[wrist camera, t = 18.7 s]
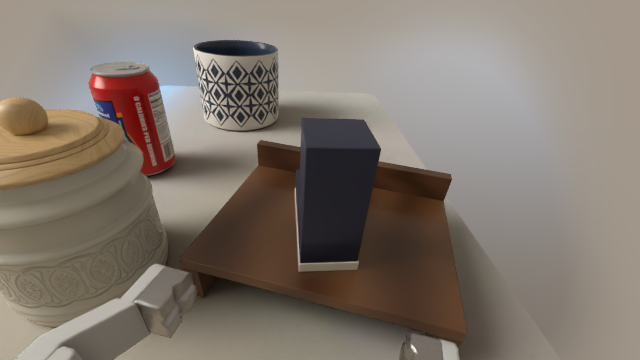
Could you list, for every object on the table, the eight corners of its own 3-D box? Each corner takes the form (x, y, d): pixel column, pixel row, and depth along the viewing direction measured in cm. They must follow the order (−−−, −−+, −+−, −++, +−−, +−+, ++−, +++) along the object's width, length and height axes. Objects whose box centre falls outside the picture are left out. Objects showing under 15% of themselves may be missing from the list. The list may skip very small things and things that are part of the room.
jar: (195, 265, 31) (156, 103, 21) (40, 366, 22) (-147, 169, 13) (136, 211, 37) (85, 66, 28) (-2, 273, 29) (-148, 93, 19)
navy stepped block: (338, 194, 35) (351, 94, 28) (357, 270, 26) (383, 149, 19) (294, 194, 34) (297, 92, 28) (298, 272, 25) (304, 148, 19)
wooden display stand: (431, 225, 39) (450, 174, 35) (447, 366, 24) (484, 308, 20) (262, 190, 43) (260, 139, 38) (189, 293, 28) (171, 231, 24)
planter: (281, 106, 72) (281, 43, 64) (274, 134, 59) (273, 58, 51) (215, 102, 71) (207, 37, 63) (193, 130, 58) (179, 52, 50)
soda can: (181, 172, 45) (159, 72, 37) (122, 186, 41) (82, 77, 33) (171, 150, 51) (150, 58, 42) (118, 160, 47) (83, 62, 38)
